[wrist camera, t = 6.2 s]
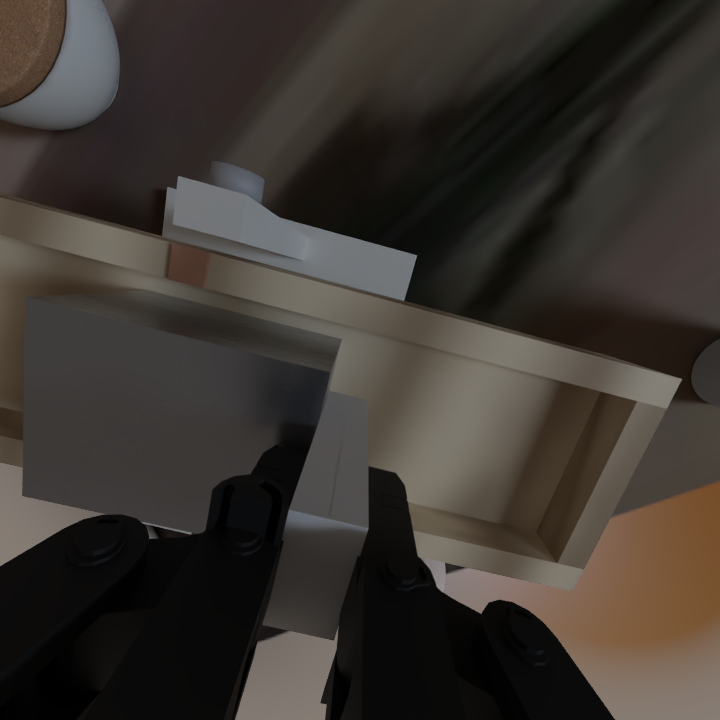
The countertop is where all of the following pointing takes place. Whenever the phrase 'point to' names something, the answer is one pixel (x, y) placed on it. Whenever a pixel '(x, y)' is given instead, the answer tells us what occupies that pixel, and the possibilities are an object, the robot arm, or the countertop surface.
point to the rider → (160, 400)
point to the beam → (389, 390)
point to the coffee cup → (708, 374)
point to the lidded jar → (56, 62)
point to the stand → (276, 236)
